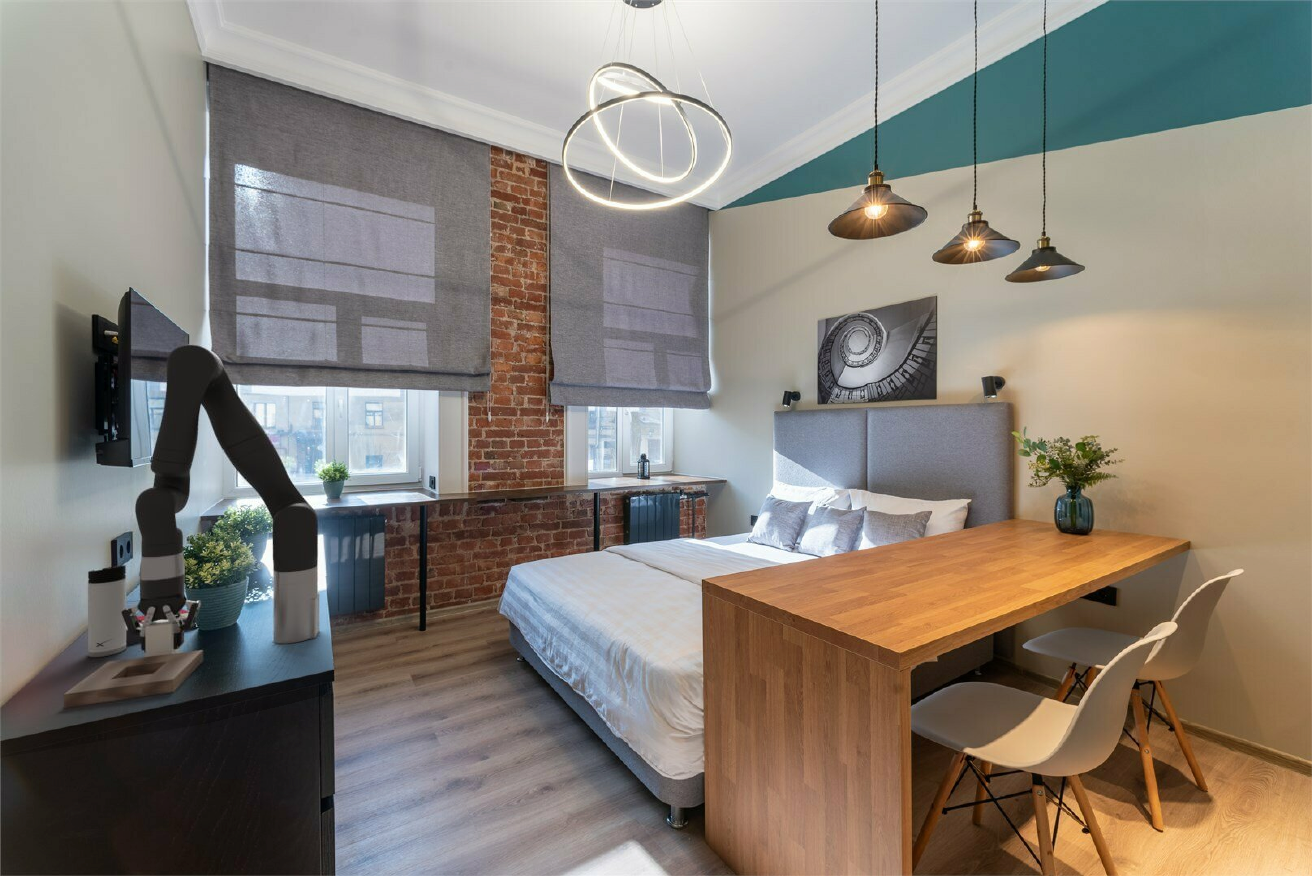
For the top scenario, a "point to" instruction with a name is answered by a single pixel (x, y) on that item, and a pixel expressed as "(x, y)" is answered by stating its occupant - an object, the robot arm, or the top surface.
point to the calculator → (137, 638)
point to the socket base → (134, 678)
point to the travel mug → (106, 611)
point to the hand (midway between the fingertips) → (162, 649)
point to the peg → (160, 639)
